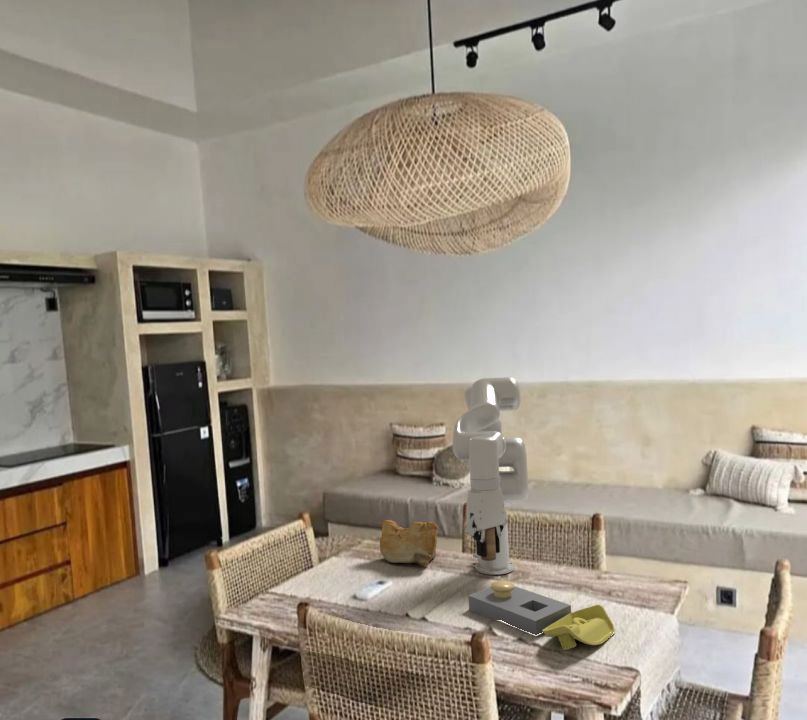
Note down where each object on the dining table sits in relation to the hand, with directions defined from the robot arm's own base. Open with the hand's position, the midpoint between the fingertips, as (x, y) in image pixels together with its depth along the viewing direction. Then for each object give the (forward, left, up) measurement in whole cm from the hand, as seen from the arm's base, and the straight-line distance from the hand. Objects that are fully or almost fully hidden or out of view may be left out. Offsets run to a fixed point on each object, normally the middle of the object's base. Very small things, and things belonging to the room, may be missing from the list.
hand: (488, 553), depth 174 cm
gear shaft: (0, 0, -1) cm, 1 cm away
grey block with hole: (+1, +10, -19) cm, 21 cm away
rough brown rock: (-54, +20, -19) cm, 61 cm away
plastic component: (+20, +9, -19) cm, 29 cm away
